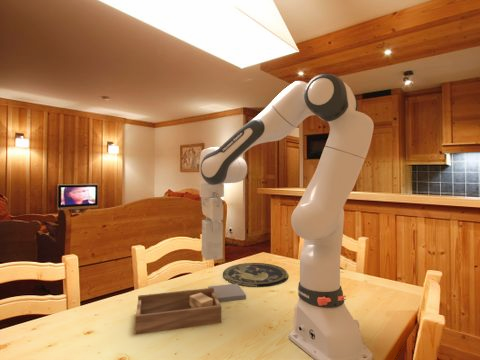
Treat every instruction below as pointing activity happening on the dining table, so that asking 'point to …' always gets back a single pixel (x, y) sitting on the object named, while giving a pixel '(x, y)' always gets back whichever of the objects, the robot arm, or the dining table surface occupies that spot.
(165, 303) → the tray
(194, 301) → the offcut upper
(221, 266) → the dining table surface
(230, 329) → the dining table surface
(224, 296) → the plate
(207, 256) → the small box
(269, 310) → the dining table surface
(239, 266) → the decorative plate
